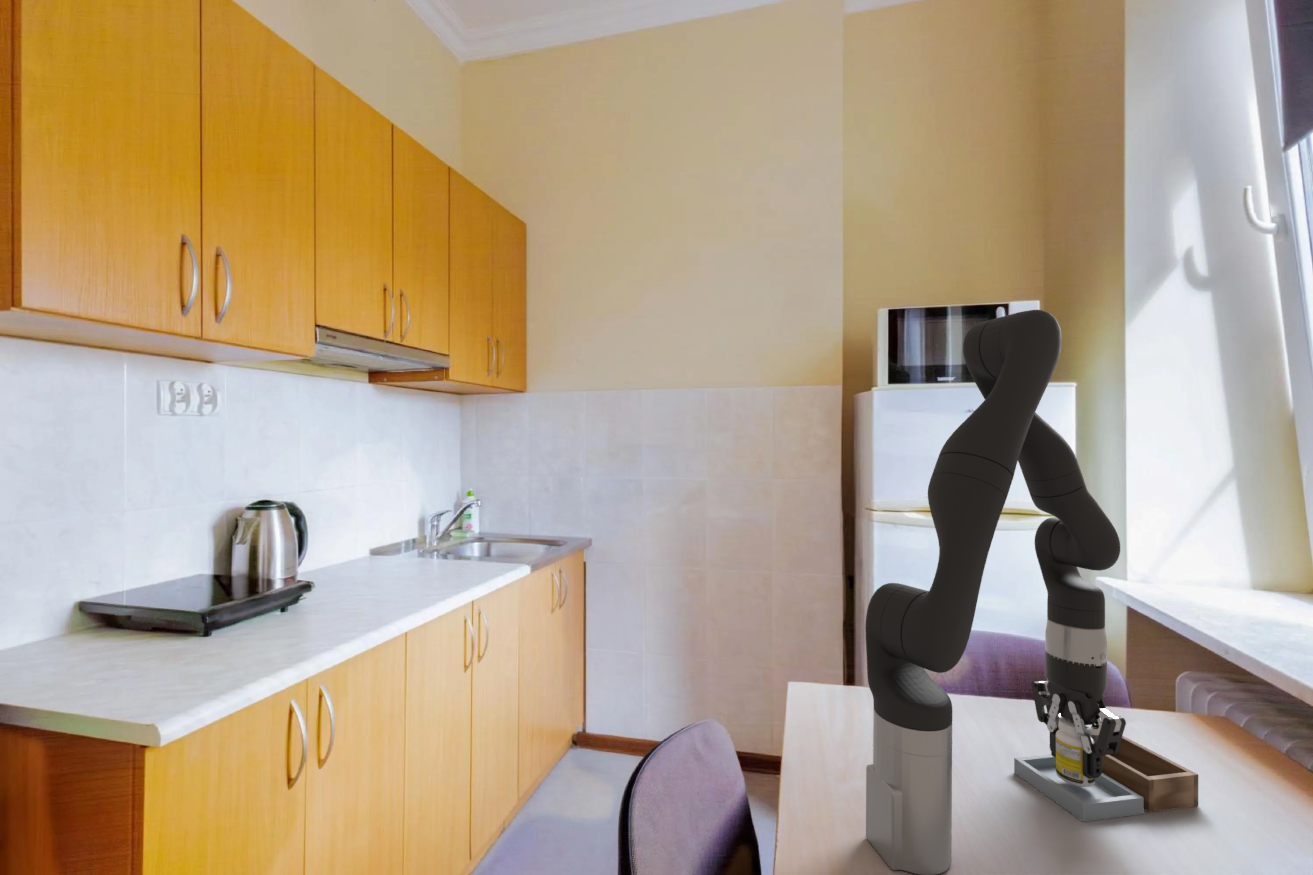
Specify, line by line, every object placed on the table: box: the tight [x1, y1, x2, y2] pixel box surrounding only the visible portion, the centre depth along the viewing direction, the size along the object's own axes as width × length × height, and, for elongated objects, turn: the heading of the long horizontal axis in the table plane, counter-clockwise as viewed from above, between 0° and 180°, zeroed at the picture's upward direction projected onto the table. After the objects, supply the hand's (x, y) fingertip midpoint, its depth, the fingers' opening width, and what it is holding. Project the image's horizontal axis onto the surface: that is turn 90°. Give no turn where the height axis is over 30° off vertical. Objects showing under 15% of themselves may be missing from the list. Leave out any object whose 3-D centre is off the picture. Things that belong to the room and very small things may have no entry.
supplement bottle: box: [1056, 717, 1095, 787], centre depth 86 cm, size 5×5×8 cm
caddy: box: [1091, 735, 1199, 813], centre depth 89 cm, size 9×14×4 cm, turn 11°
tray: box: [1013, 753, 1144, 823], centre depth 86 cm, size 10×12×2 cm
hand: (1074, 766), depth 86 cm, fingers closed on supplement bottle, 4 cm apart
